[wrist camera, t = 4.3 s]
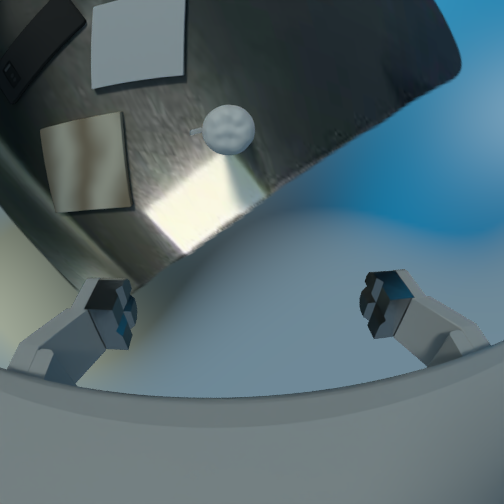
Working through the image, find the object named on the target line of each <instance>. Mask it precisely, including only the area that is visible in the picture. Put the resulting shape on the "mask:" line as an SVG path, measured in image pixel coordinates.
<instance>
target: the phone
mask: <svg viewBox="0 0 504 504" xmlns="http://www.w3.org/2000/svg"><path fill="white" fill-rule="evenodd" d="M85 23H86V19H85V18H84V17H83V16H82V14H81V13H80V12H79V10H78V9H77V8H76V7H75V5H74V4H73V3H72V1H71V0H50V1H49V2H48V3H47V4H46V5H45V6H44V7H43V8H42V9H41V10H40V12H39V13H38V14H37V15H36V16H35V17H34V18H33V19H32V20H31V21H30V23H29V24H28V25H27V26H26V27H25V28H24V30H23V31H22V32H21V33H20V35H19V36H18V37H17V38H16V40H15V41H14V42H13V43H12V45H11V46H10V47H9V49H8V50H7V51H6V53H5V54H4V55H3V57H2V58H1V60H0V88H1V90H2V91H3V93H4V95H5V96H6V98H7V99H8V101H9V103H10V104H14V103H16V102H17V101H18V99H19V98H20V96H21V95H22V94H23V92H24V91H25V90H26V88H27V87H28V86H29V84H30V83H31V82H32V81H33V79H34V78H35V77H36V76H37V74H38V73H39V72H40V71H41V70H42V68H43V67H44V66H45V65H46V64H47V63H48V61H49V60H50V59H51V58H52V57H53V56H54V55H55V54H56V53H57V51H58V50H59V49H60V48H61V47H62V46H63V45H64V44H65V43H66V42H67V41H68V40H69V39H70V38H71V37H72V36H73V35H74V34H75V33H76V32H77V31H78V30H79V29H80V28H82V27H83V26H84V24H85Z"/></svg>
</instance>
